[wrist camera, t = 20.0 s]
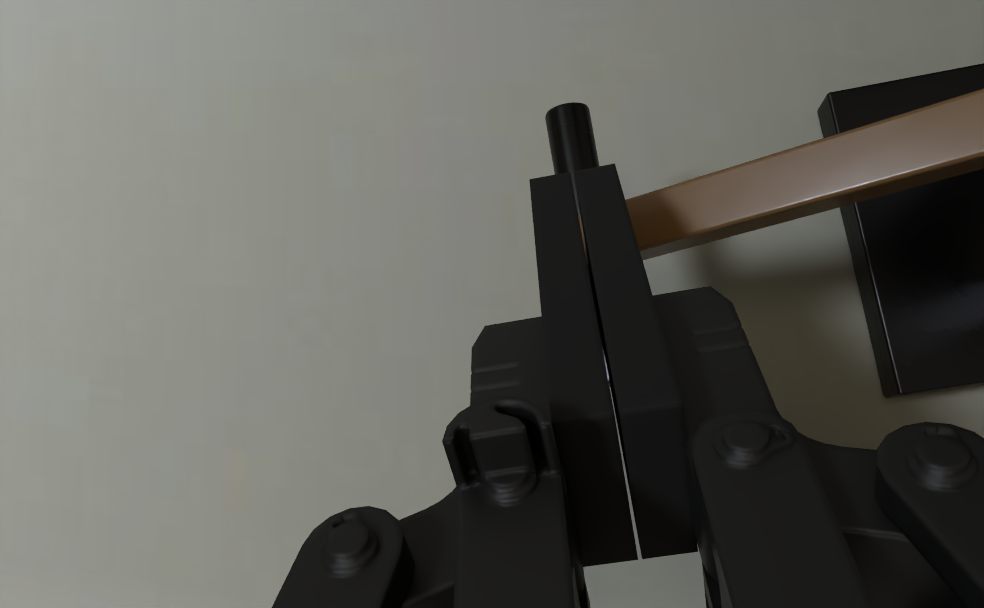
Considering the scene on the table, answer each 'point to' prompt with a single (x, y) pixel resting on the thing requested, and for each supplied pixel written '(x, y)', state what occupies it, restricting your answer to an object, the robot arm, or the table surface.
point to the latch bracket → (917, 248)
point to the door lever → (786, 174)
